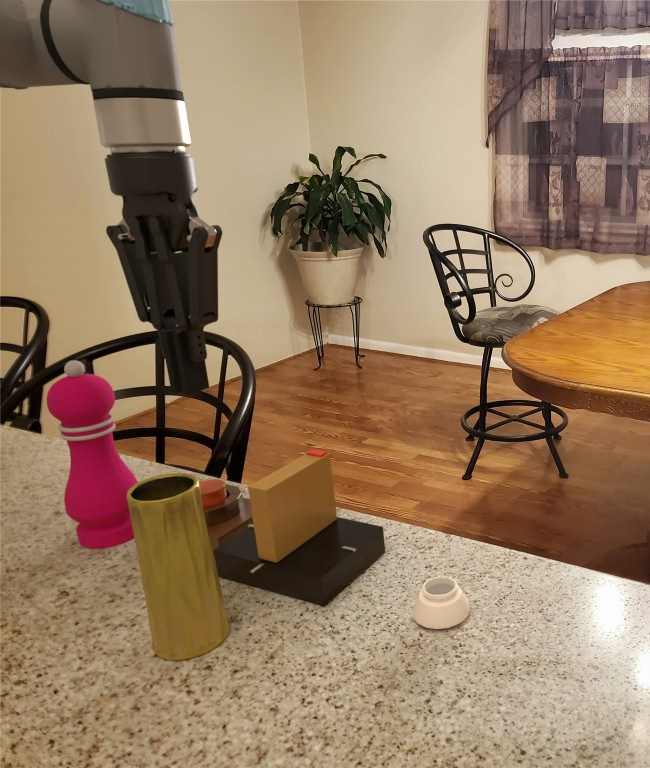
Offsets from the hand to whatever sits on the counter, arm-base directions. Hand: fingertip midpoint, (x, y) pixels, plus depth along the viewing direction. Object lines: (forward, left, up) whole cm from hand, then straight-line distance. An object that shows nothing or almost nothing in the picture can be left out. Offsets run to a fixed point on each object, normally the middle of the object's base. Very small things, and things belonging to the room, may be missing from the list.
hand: (190, 389), depth 71 cm
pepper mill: (-10, -5, -17) cm, 20 cm away
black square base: (+14, -2, -16) cm, 22 cm away
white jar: (+31, -4, -17) cm, 35 cm away
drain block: (0, 0, -16) cm, 16 cm away
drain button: (0, 0, -13) cm, 13 cm away
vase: (+13, -15, -17) cm, 26 cm away
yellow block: (+14, -2, -13) cm, 19 cm away
